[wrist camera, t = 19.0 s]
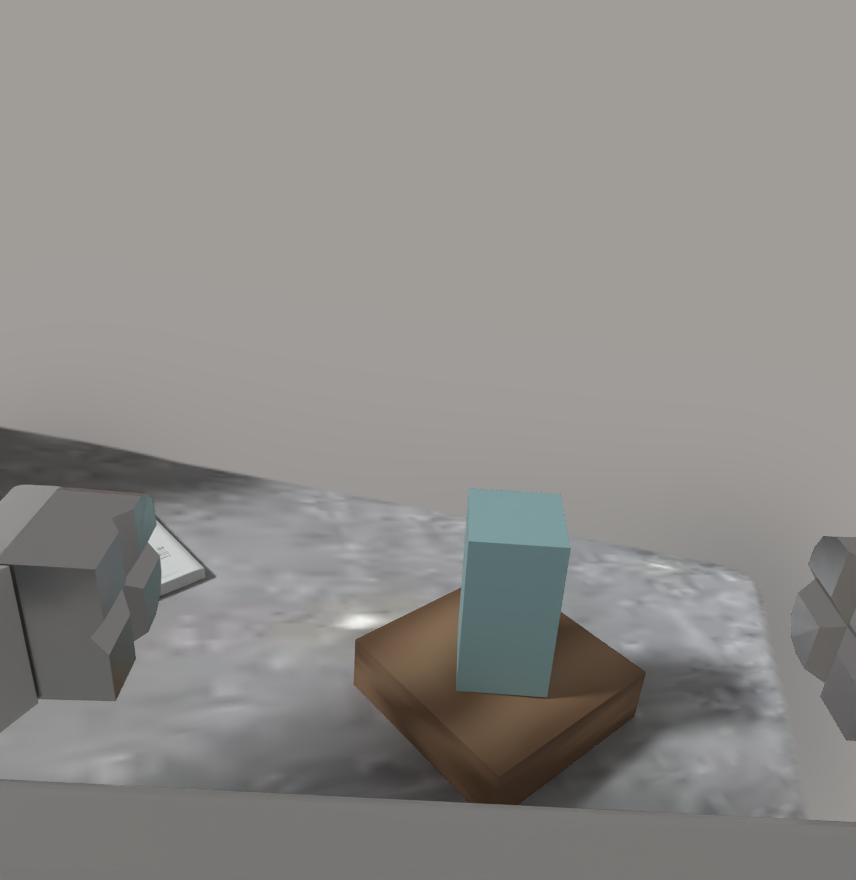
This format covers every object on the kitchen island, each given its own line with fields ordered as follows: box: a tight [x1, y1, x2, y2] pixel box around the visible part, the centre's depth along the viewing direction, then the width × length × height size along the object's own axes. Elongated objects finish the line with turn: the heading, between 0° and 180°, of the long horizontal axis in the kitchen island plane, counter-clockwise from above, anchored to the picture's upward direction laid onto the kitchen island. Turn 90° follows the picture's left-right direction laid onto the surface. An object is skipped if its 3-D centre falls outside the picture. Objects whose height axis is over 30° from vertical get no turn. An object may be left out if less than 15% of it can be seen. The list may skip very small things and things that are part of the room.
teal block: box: [456, 488, 571, 697], centre depth 43 cm, size 5×5×10 cm
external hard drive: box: [148, 520, 205, 596], centre depth 58 cm, size 2×8×12 cm
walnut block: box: [354, 588, 646, 805], centre depth 47 cm, size 12×12×4 cm
